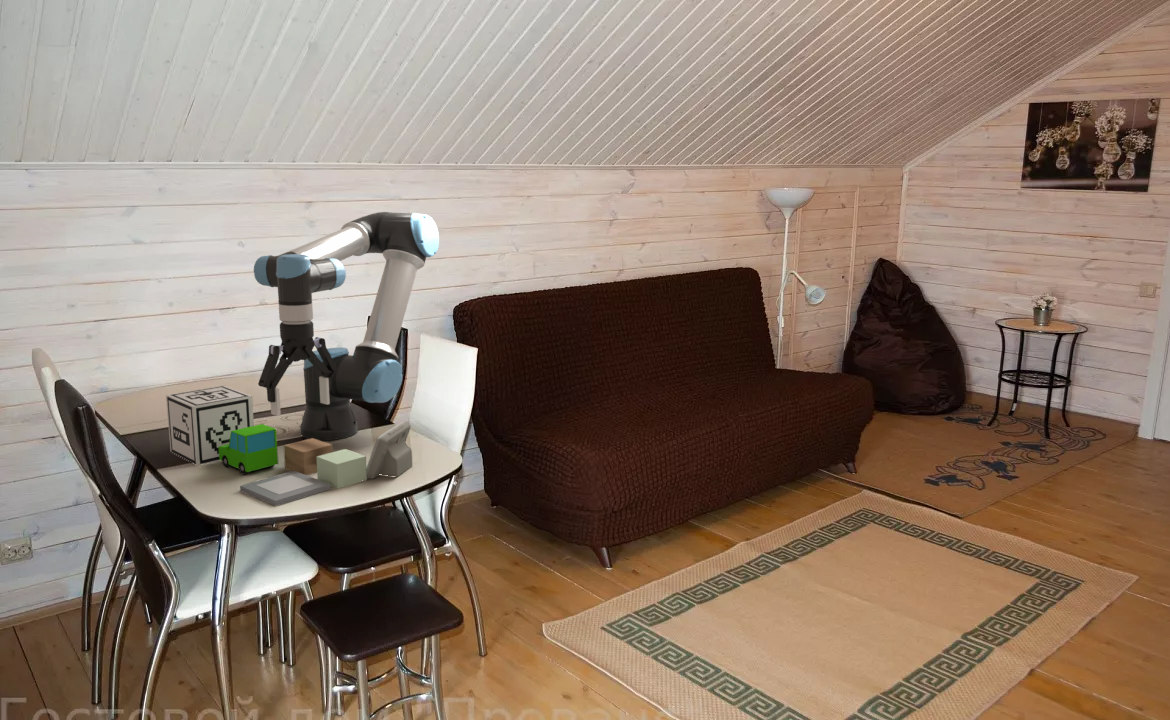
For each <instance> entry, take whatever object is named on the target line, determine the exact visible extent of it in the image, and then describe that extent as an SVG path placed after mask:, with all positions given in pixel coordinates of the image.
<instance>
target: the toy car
mask: <svg viewBox="0 0 1170 720" xmlns="http://www.w3.org/2000/svg"><path fill="white" fill-rule="evenodd" d="M277 439H278V436H277V428H275V427H272V426H269V425H266V424H263V423H260V424H257V425H255V424H254V426H251V427H247V428H242V429H238V430H233V431H231V435H230V442H229V444H227V445H223V446H219V447H218V448H219V460H220V461H219V462H222V464H223V466H224V467H225V468H230V467H231V468H232V467H234V468H236V469H238V470H239V471H240V474H242V475H247V474H249V473H250V472H252V471H257V470H260V469H264V468H273V467H275V466H276V465H278V464H279V458H278V457H279V456H278V455H279V454H278V453H279V452H278V440H277Z"/></svg>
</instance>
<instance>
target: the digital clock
mask: <svg viewBox="0 0 1170 720" xmlns="http://www.w3.org/2000/svg"><path fill="white" fill-rule="evenodd" d="M410 430H411V424H410V422H409V421H407V420H404V421H401V422H399V423H398V424H396V425H394V426H393V427H392V428H390V429H388V430H386V431H385V432H383V433H382V434H380V435H379V436H378V437H377V438H376V439H375V442H374V445H373V448H372V452H371V453H370V454H371V455H370V458H369V460H368V462H367V464H366V470H367V479H370V478H371V479H374V478H376V477H378V475H379V474H382V475H388V476H396V477H395V478H398V477H399V476H400V475H401V473H402V474H403V473H404V472H406V471H407V470H408V469H410V468H411V467H412V466H413V451H412V448H411V447H410V446H408V445H407V439H408V435H409V434H410ZM409 467H410V468H409ZM405 470H406V471H405ZM397 476H398V477H397Z"/></svg>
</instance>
